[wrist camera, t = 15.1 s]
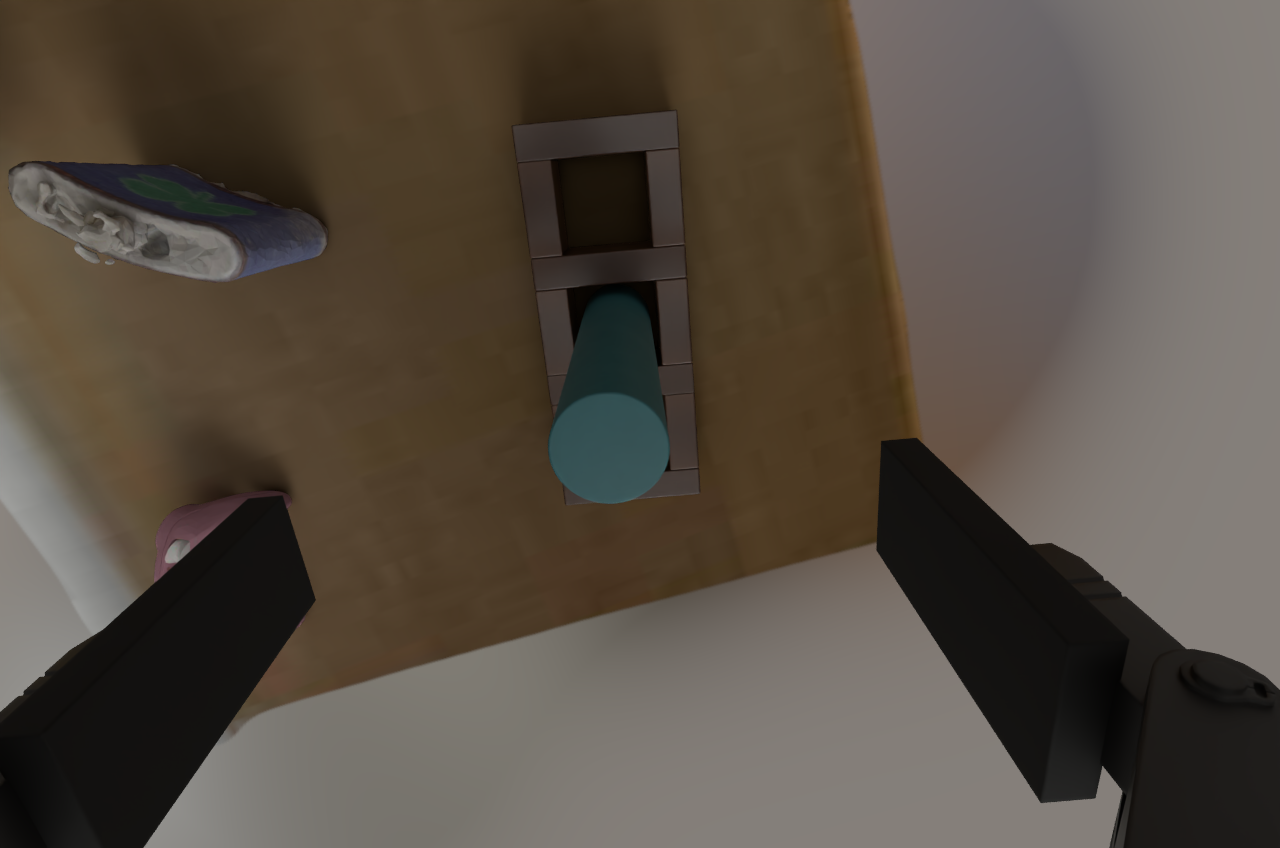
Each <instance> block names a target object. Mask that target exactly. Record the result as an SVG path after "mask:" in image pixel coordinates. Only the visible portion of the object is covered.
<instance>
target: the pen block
mask: <svg viewBox="0 0 1280 848" xmlns="http://www.w3.org/2000/svg"><path fill="white" fill-rule="evenodd" d="M512 132H513V139H514V146H515V153H516V160H517V162H518V163H517V167H518V174H519V181H520V188H521V195H522V202H523V209H524V216H525V223H526V231H527V238H528V245H529V252H530V257H531V258H532V259H531V265H532V273H533V280H534V287H535V290H536V292H535V294H536V301H537V308H538V315H539V323H540V330H541V337H542V344H543V351H544V358H545V365H546V372H547V375H548V376H547V379H548V387H549V394H550V401H551V405H552V406H551V407H552V414H553V420H554V417H555V413H556V410H557V406H558V403H559V399H560V396H561V392H562V389H563V385H564V382H565V378H566V375H567V371H568V368H569V364H570V361H571V357H572V354H573V350H574V347H575V343H576V340H577V336H578V333H579V331H578V323H577V314H576V306H575V298H574V290H573V288H576V287H587V286H598V285H609V284H621V283H632V282H643V281H654V293H655V306H656V318H657V331H658V344H659V349H656V350H655V353H656V359H657V366H658V372H659V378H660V385H661V391H662V395H663V404H664V410H665V416H666V422H667V429H668V435H669V442H670V454H669V460H668V463H667V466H666V469H665V471H664V473H663V474H662V476H661V478H660V479H659V480H658V482H657V483H656V484H655V485H654V486H653V487H652V488H651V489H650V490H648V491H647V492H645V493H644V494H642V495H641V496H639V497H637V498H635V499H645V498H656V497H668V496H679V495H691V494H700V476H699V460H698V444H697V427H696V411H695V395H694V377H693V363H692V346H691V329H690V313H689V297H688V280H687V278H686V277H687V264H686V248H685V245H684V244H685V231H684V215H683V199H682V182H681V166H680V150H679V148H678V147H679V132H678V116H677V110H669V111H658V112H647V113H637V114H626V115H615V116H605V117H594V118H583V119H573V120H562V121H551V122H541V123H530V124H519V125H512ZM638 152H644V166H645V179H646V192H647V204H648V217H649V230H650V241H639V242H628V243H617V244H606V245H595V246H584V247H574V248H568V240H567V232H566V224H565V216H564V207H563V199H562V191H561V183H560V174H559V166H558V161H557V160H563V159H574V158H585V157H596V156H606V155H617V154H628V153H638ZM562 485H563V492H564V499H565V504H566V505H575V504H587V503H598V502H593V501H590V500H587V499H584V498H582V497H580V496H578V495H576V494H575V493H573V492H572V491H570V490H569V489H568V488H567V487H566V486H565V485H564V484H563V483H562ZM632 500H633V499H632Z"/></svg>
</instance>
